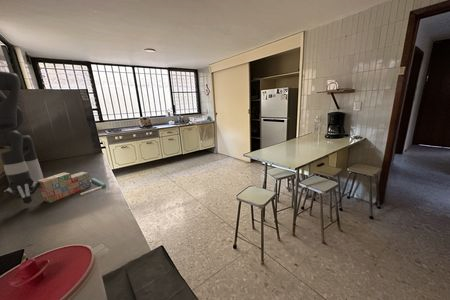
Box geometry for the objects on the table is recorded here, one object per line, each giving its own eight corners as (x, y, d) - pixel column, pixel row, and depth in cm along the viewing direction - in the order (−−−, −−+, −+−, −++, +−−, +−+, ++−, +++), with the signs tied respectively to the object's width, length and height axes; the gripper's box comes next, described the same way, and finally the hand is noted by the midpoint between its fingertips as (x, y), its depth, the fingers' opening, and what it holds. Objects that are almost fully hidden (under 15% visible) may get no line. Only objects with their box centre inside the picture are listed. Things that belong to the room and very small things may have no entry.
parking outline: (70, 187, 116) (70, 184, 115) (94, 180, 126) (93, 177, 125) (81, 195, 105) (80, 192, 104) (106, 186, 115) (105, 183, 114)
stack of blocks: (85, 185, 119) (81, 167, 116) (91, 186, 117) (87, 168, 114) (43, 201, 100) (36, 180, 97) (49, 203, 98) (43, 181, 95)
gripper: (34, 166, 98) (44, 195, 102) (-4, 174, 88) (8, 206, 92) (37, 168, 93) (47, 199, 97) (-3, 177, 83) (9, 211, 87)
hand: (28, 203), depth 95 cm, fingers closed
